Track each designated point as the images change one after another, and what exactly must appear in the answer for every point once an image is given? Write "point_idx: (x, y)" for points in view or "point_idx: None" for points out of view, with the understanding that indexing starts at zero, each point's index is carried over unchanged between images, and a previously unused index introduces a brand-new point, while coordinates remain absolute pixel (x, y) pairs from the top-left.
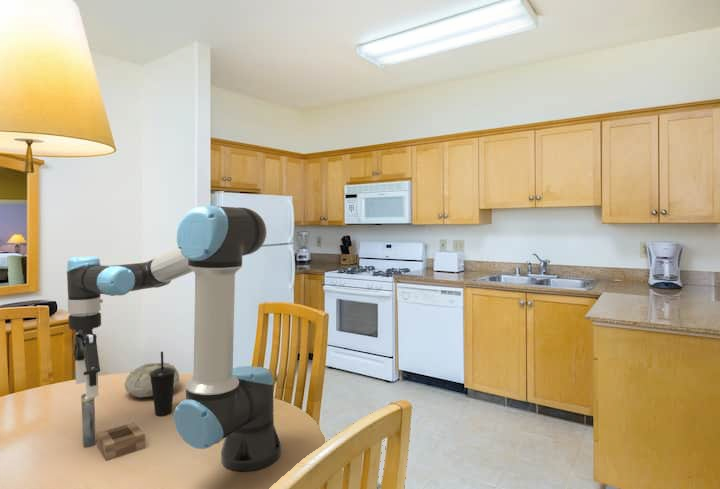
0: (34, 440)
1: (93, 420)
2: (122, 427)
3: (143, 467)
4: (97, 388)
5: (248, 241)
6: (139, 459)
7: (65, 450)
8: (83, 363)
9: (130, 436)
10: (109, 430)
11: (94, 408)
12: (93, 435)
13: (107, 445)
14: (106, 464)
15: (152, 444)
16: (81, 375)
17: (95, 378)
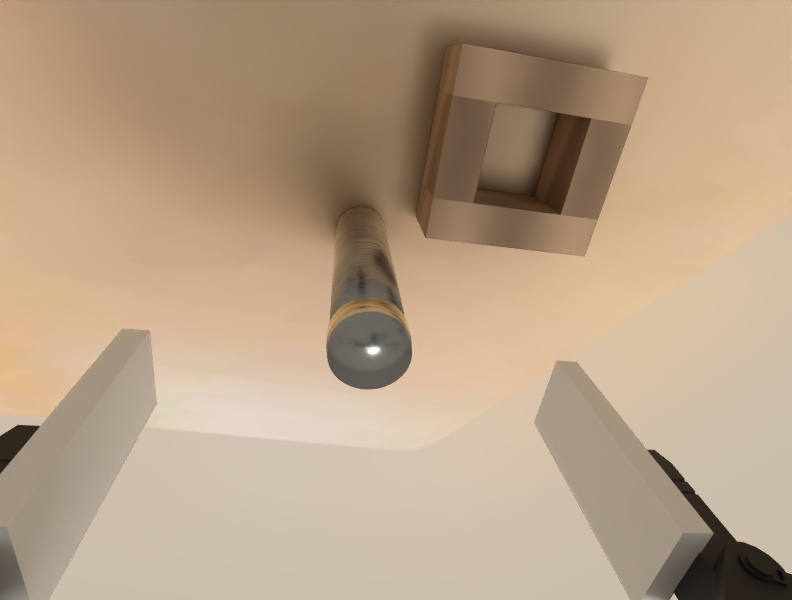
0: None
1: (389, 259)
2: (471, 126)
3: (731, 158)
4: (607, 407)
5: None
6: (666, 140)
7: None
8: (47, 517)
9: (606, 144)
10: (448, 187)
11: (383, 274)
12: (385, 234)
13: (585, 248)
14: None
15: (606, 29)
16: (123, 421)
17: (704, 511)
